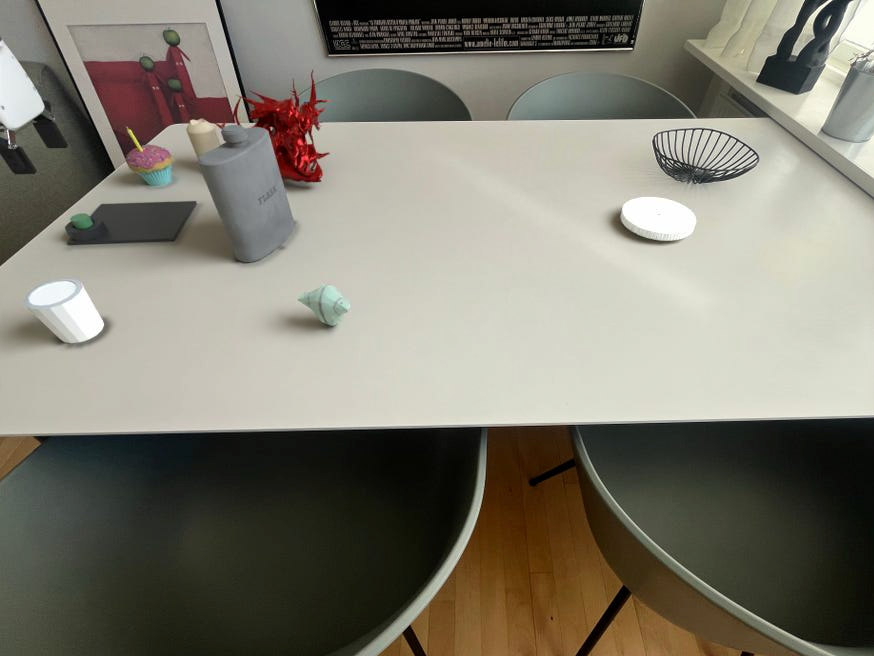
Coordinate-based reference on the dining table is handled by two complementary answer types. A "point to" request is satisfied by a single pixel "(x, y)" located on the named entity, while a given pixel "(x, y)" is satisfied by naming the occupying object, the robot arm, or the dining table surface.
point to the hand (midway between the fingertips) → (43, 159)
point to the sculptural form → (289, 133)
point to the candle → (202, 136)
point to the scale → (133, 223)
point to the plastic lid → (658, 218)
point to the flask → (248, 192)
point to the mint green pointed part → (326, 304)
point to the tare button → (81, 221)
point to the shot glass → (65, 310)
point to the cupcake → (150, 162)
